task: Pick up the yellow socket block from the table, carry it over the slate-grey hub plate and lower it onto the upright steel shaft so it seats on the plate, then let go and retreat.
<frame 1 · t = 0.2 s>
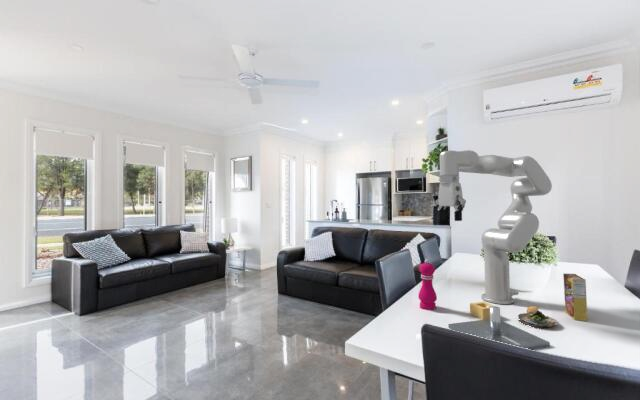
hand: (449, 220, 129), 36 cm above the table, tool pointing down, fingers open, 9 cm apart
candy box: (575, 317, 114), on the table
yellow socket block: (483, 315, 116), on the table
plate of food: (537, 324, 108), on the table
hub plate: (495, 336, 98), on the table
pepper mill: (427, 307, 126), on the table
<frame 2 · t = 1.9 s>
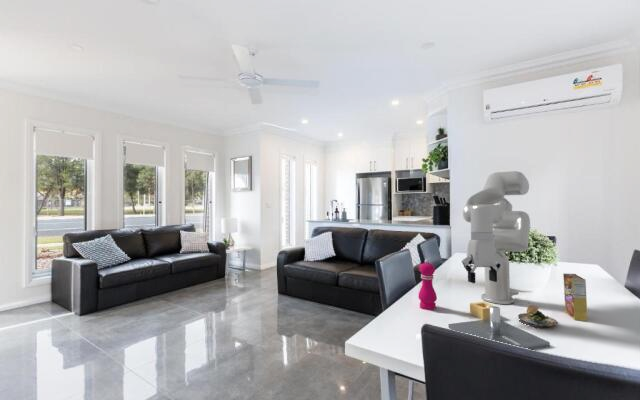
hand: (482, 281, 116), 13 cm above the table, tool pointing down, fingers open, 9 cm apart
nothing on the table moved.
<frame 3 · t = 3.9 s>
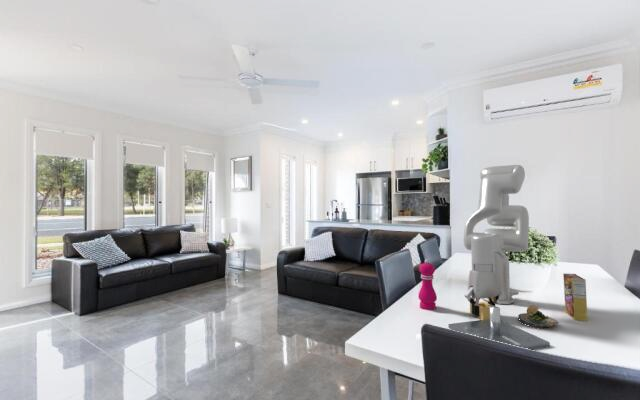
hand: (483, 313, 116), 1 cm above the table, tool pointing down, fingers closed on yellow socket block, 6 cm apart
yellow socket block: (483, 315, 116), on the table, touching gripper
everything else where it was.
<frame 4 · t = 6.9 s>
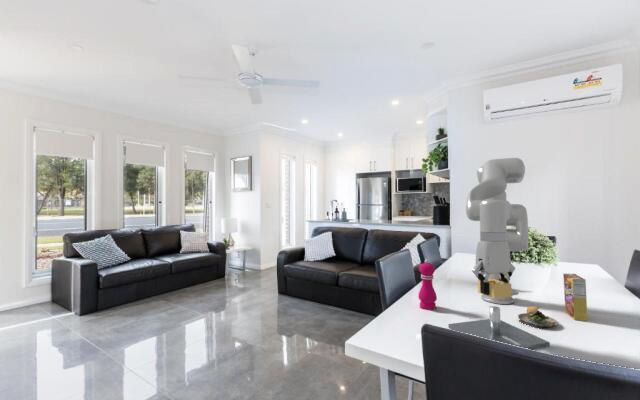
hand: (494, 292, 98), 14 cm above the table, tool pointing down, fingers closed on yellow socket block, 6 cm apart
yellow socket block: (494, 294, 98), point 14 cm above the table, touching gripper
everything else where it was.
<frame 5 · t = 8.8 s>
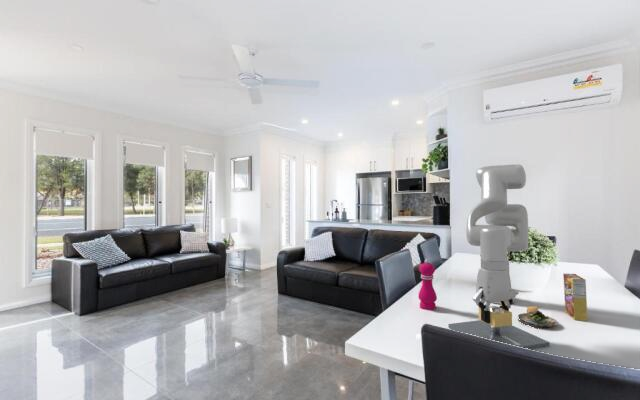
hand: (495, 320, 98), 5 cm above the table, tool pointing down, fingers closed on yellow socket block, 6 cm apart
yellow socket block: (495, 322, 98), point 5 cm above the table, touching gripper
everything else where it was.
when the fingers open (3 cm above the table, at t = 10.2 s): yellow socket block drops 1 cm, resting on hub plate.
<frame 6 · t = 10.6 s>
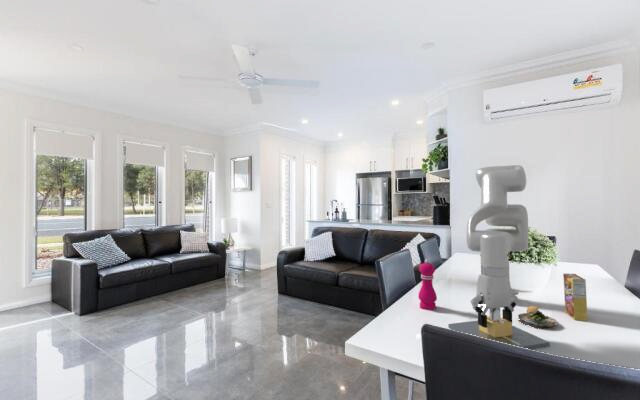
hand: (495, 324, 98), 4 cm above the table, tool pointing down, fingers open, 9 cm apart
yellow socket block: (495, 332, 98), point 1 cm above the table, touching hub plate
everything else where it was.
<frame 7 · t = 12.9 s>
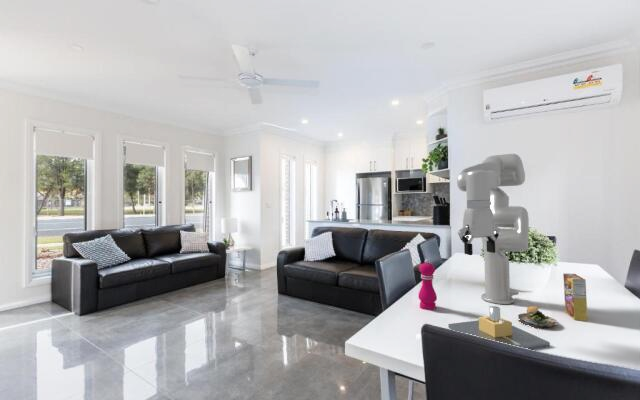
hand: (479, 253, 108), 25 cm above the table, tool pointing down, fingers open, 9 cm apart
nothing on the table moved.
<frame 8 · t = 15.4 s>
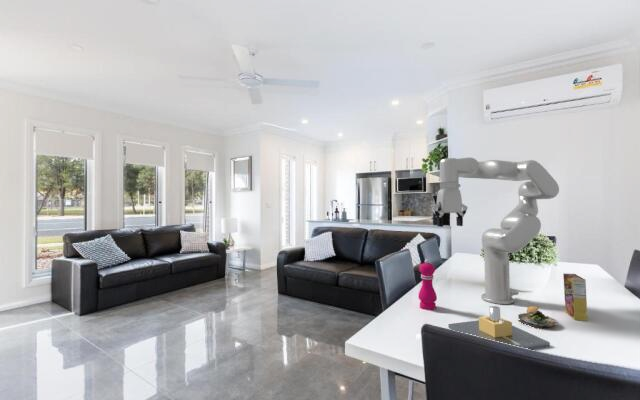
hand: (450, 226, 132), 33 cm above the table, tool pointing down, fingers open, 9 cm apart
nothing on the table moved.
at the end: yellow socket block 0.1 cm off-centre on the hub plate, point 1.3 cm above the hub plate's base; the gripper is holding nothing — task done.
